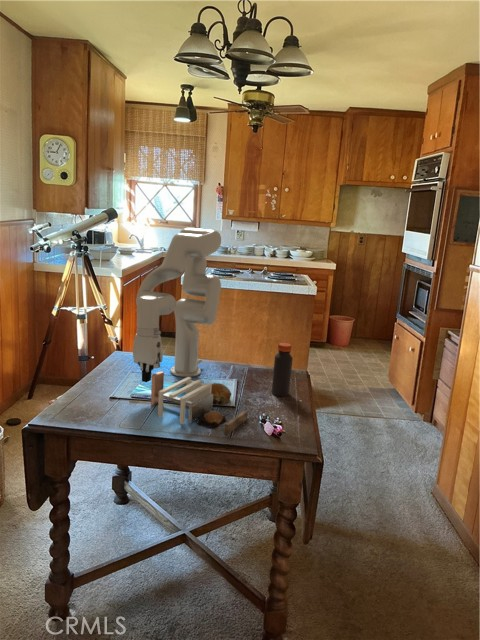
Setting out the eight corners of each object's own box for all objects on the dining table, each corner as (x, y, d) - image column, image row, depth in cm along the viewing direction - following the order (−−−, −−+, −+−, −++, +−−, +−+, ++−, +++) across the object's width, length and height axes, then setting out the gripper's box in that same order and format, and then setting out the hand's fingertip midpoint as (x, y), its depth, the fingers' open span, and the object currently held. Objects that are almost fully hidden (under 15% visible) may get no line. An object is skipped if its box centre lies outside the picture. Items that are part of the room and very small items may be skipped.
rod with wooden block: (166, 395, 175) (167, 368, 172) (212, 409, 166) (214, 380, 163) (143, 407, 163) (144, 378, 161) (191, 423, 154) (192, 392, 152)
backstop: (243, 418, 161) (244, 410, 161) (246, 419, 161) (247, 411, 160) (224, 433, 150) (224, 424, 149) (227, 434, 150) (228, 425, 149)
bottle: (292, 394, 186) (297, 345, 181) (281, 398, 181) (286, 348, 176) (278, 388, 190) (283, 340, 185) (268, 392, 185) (272, 343, 180)
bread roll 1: (232, 409, 177) (237, 388, 178) (221, 406, 168) (227, 384, 169) (208, 403, 181) (214, 382, 182) (197, 400, 171) (202, 378, 173)
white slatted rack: (187, 400, 173) (188, 376, 171) (210, 407, 168) (211, 383, 166) (157, 416, 158) (158, 391, 156) (182, 424, 154) (183, 398, 152)
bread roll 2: (206, 413, 164) (207, 403, 163) (229, 419, 161) (230, 409, 160) (192, 425, 155) (193, 415, 154) (216, 431, 152) (216, 421, 151)
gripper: (171, 333, 165) (169, 382, 169) (137, 325, 171) (136, 373, 176) (158, 337, 158) (157, 389, 163) (123, 329, 165) (123, 379, 169)
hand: (146, 380), depth 169 cm, fingers closed
